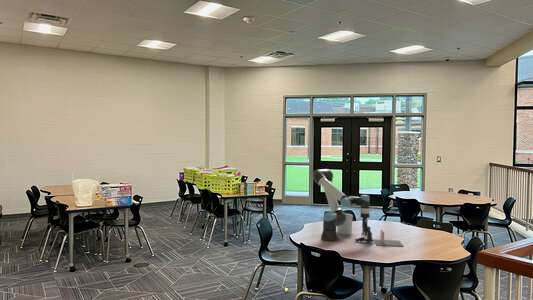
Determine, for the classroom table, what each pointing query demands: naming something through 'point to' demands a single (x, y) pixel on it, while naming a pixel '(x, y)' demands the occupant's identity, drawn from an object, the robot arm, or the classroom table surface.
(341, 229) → the utensil holder
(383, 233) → the tile
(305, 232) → the classroom table surface
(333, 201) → the robot arm
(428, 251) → the classroom table surface
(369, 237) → the gun
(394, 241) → the mat
